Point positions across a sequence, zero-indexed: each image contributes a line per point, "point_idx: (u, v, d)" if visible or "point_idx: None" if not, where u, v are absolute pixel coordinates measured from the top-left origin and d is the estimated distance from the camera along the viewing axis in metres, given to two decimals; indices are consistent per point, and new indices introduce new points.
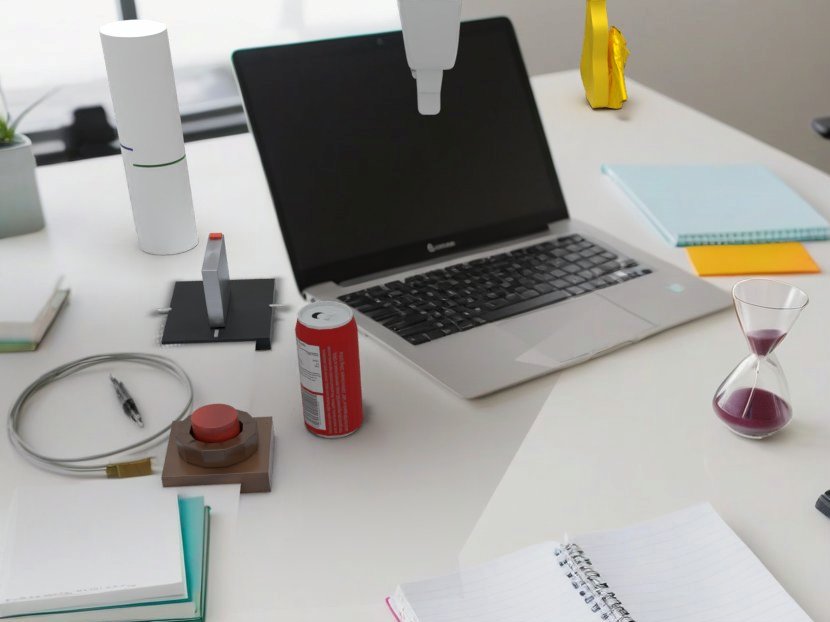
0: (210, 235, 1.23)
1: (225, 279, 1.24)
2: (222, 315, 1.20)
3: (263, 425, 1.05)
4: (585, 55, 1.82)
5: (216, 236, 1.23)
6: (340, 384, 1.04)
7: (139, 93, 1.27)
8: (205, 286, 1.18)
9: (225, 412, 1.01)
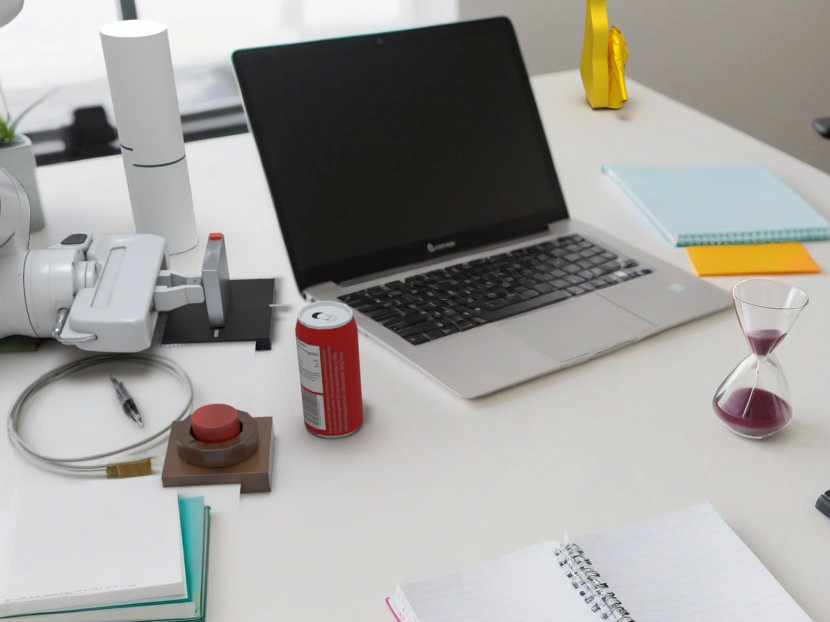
0: (210, 235, 1.23)
1: (225, 279, 1.24)
2: (222, 315, 1.20)
3: (263, 425, 1.05)
4: (585, 55, 1.82)
5: (216, 236, 1.23)
6: (340, 384, 1.04)
7: (139, 93, 1.27)
8: (205, 286, 1.18)
9: (225, 412, 1.01)
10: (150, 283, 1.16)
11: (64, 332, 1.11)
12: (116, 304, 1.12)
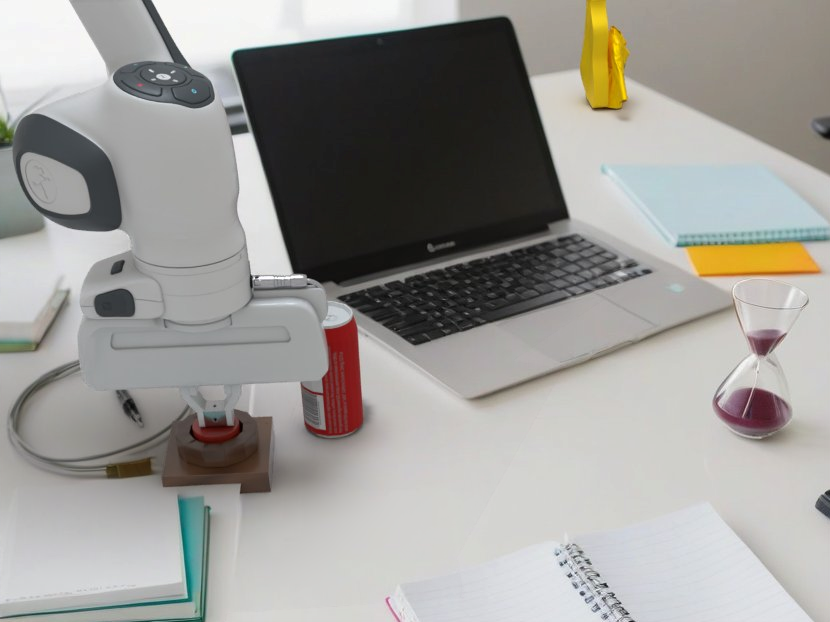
0: None
1: None
2: None
3: (263, 425, 1.05)
4: (585, 55, 1.82)
5: None
6: (340, 384, 1.04)
7: None
8: None
9: None
10: None
11: None
12: None
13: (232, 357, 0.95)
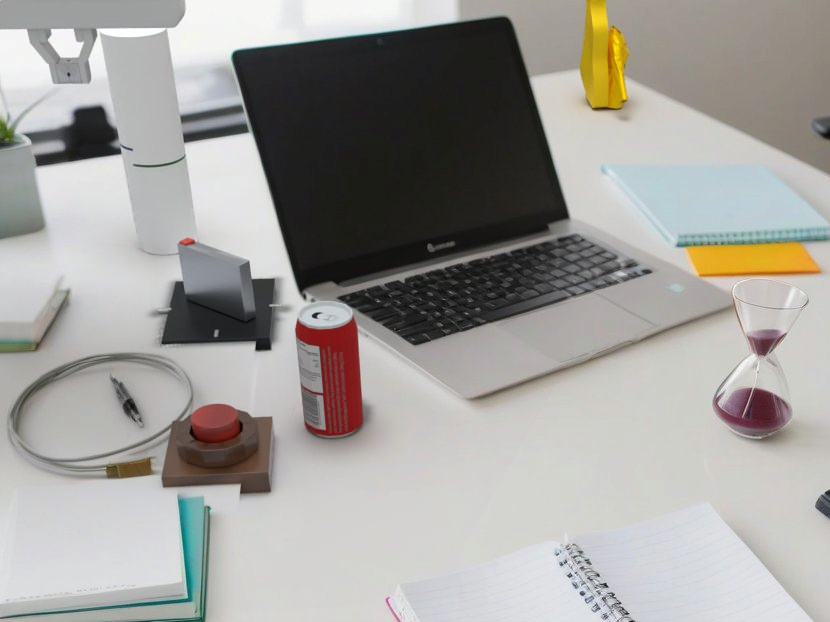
0: (184, 242, 1.22)
1: None
2: (254, 305, 1.22)
3: (263, 425, 1.05)
4: (585, 55, 1.82)
5: (190, 241, 1.22)
6: (340, 384, 1.04)
7: (139, 93, 1.27)
8: (242, 280, 1.20)
9: (225, 412, 1.01)
10: None
11: None
12: None
13: None
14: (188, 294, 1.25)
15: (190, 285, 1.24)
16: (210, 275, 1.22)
